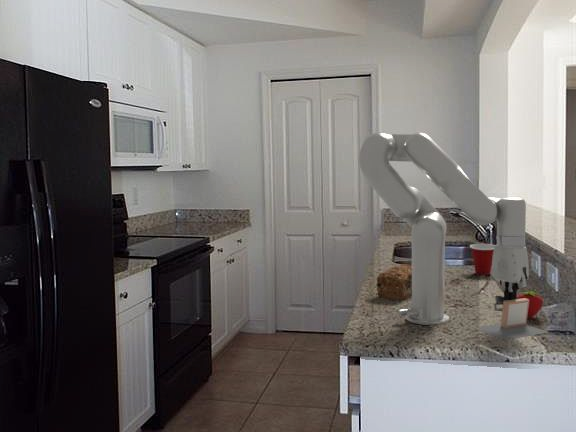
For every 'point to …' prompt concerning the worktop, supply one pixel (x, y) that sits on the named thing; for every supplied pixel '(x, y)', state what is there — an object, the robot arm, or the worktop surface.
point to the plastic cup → (482, 257)
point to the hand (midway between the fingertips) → (510, 304)
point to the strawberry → (532, 302)
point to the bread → (395, 282)
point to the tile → (514, 312)
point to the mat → (510, 331)
